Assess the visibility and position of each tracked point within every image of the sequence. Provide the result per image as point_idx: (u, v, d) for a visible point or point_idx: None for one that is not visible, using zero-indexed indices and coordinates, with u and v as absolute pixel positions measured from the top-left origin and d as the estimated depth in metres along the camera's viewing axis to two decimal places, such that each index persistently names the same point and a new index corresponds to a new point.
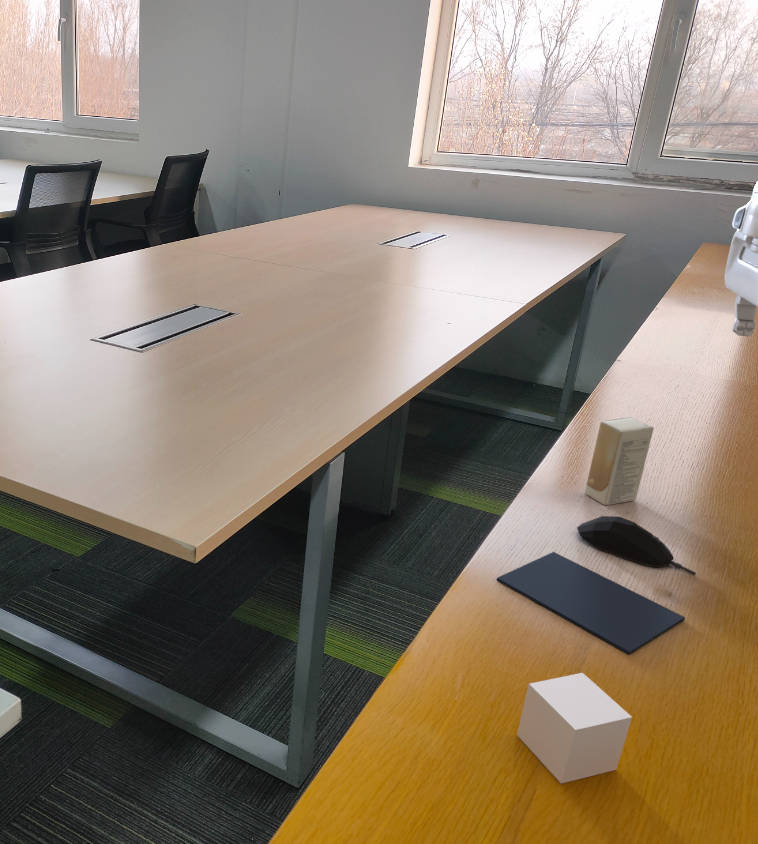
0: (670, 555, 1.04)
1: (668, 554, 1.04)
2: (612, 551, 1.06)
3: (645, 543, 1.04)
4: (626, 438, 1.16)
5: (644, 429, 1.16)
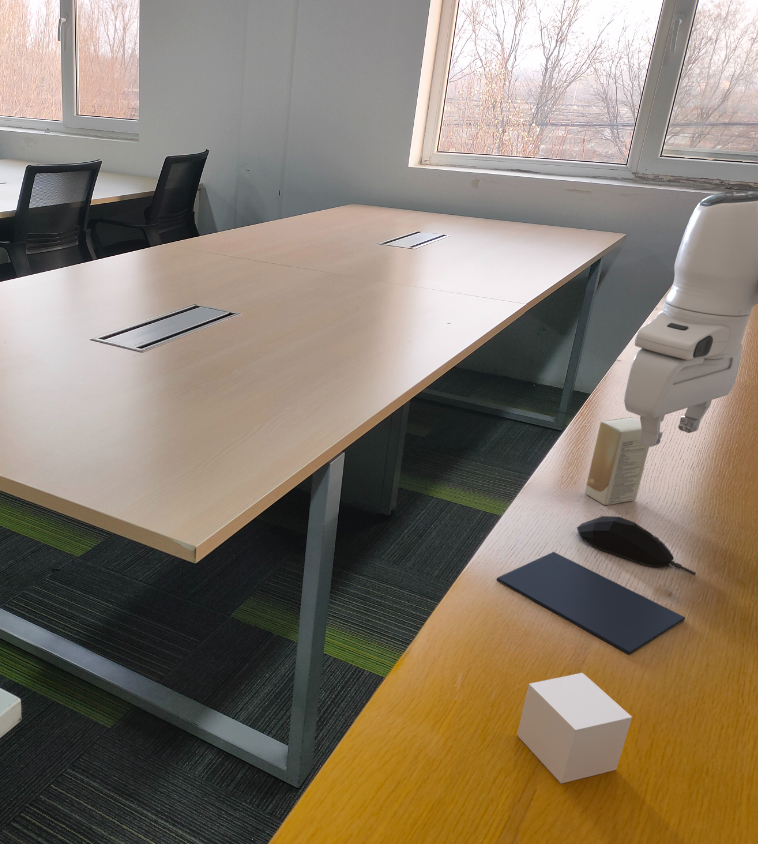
0: (670, 555, 1.04)
1: (668, 554, 1.04)
2: (612, 551, 1.06)
3: (645, 543, 1.04)
4: (626, 438, 1.16)
5: None
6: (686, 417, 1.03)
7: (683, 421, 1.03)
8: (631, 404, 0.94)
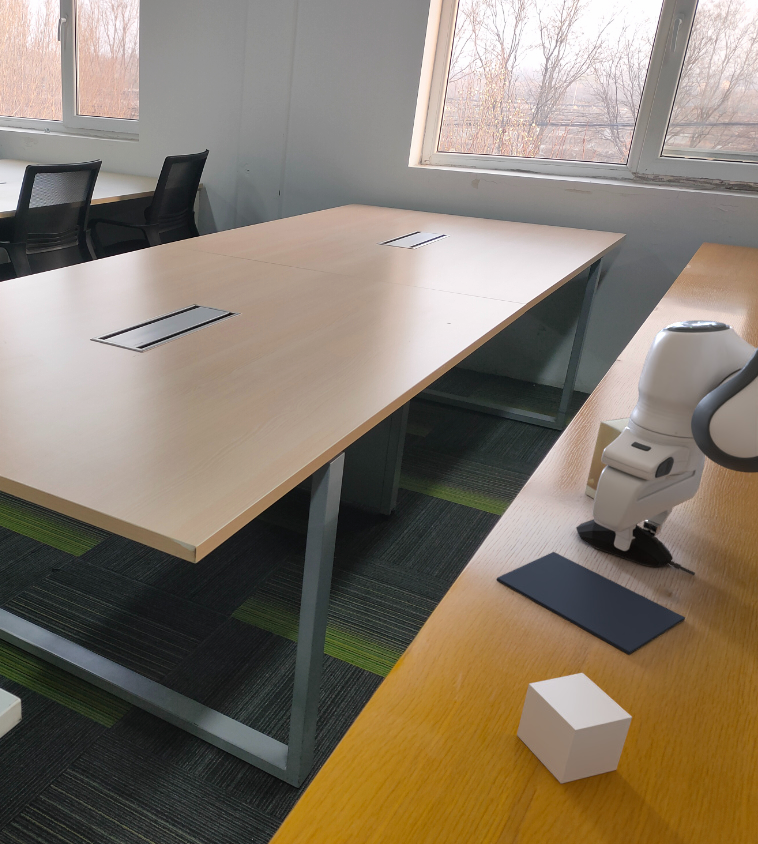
0: (669, 555, 1.04)
1: (667, 554, 1.04)
2: (611, 551, 1.06)
3: (644, 543, 1.04)
4: None
5: None
6: (649, 521, 1.08)
7: (646, 525, 1.08)
8: (599, 518, 1.00)
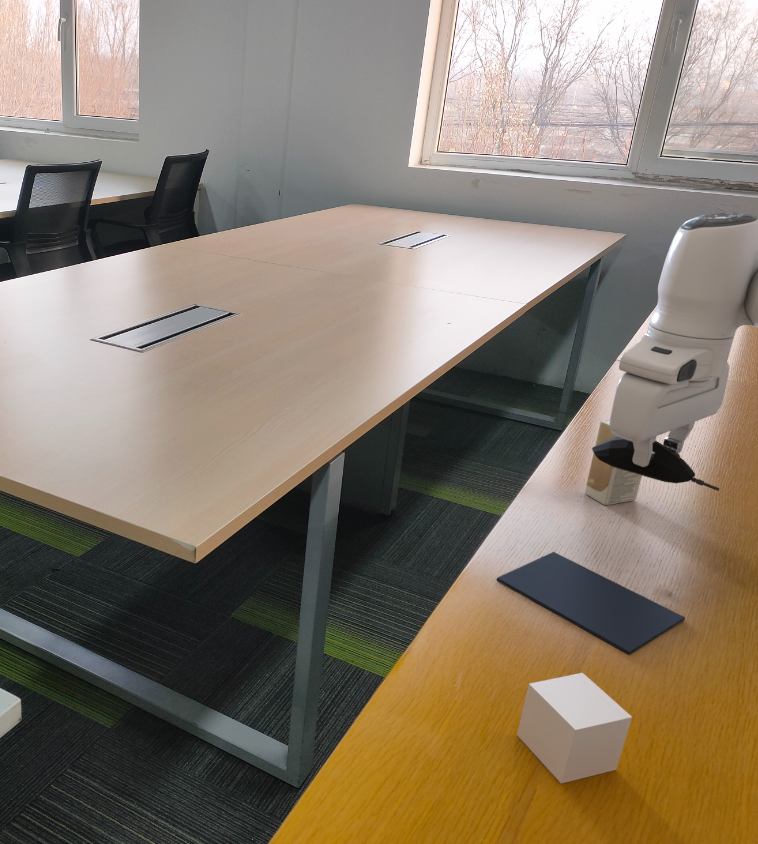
0: (691, 471, 0.98)
1: (689, 470, 0.98)
2: (629, 469, 1.00)
3: (665, 459, 0.98)
4: None
5: None
6: (669, 439, 1.02)
7: (667, 443, 1.02)
8: (616, 428, 0.94)
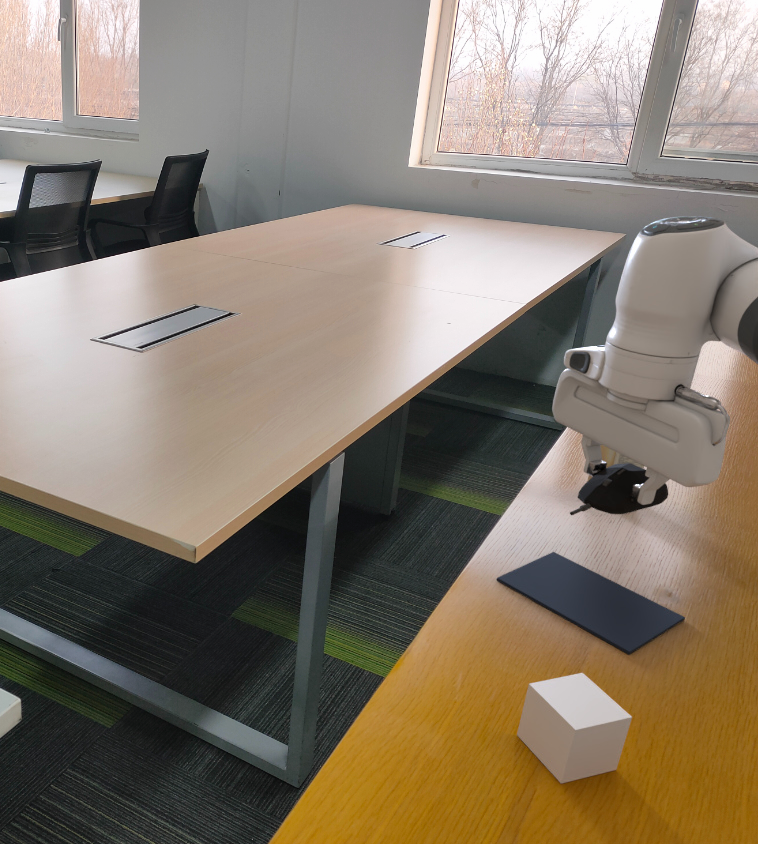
0: (595, 499, 0.89)
1: (594, 497, 0.89)
2: None
3: (598, 477, 0.91)
4: None
5: None
6: None
7: None
8: None
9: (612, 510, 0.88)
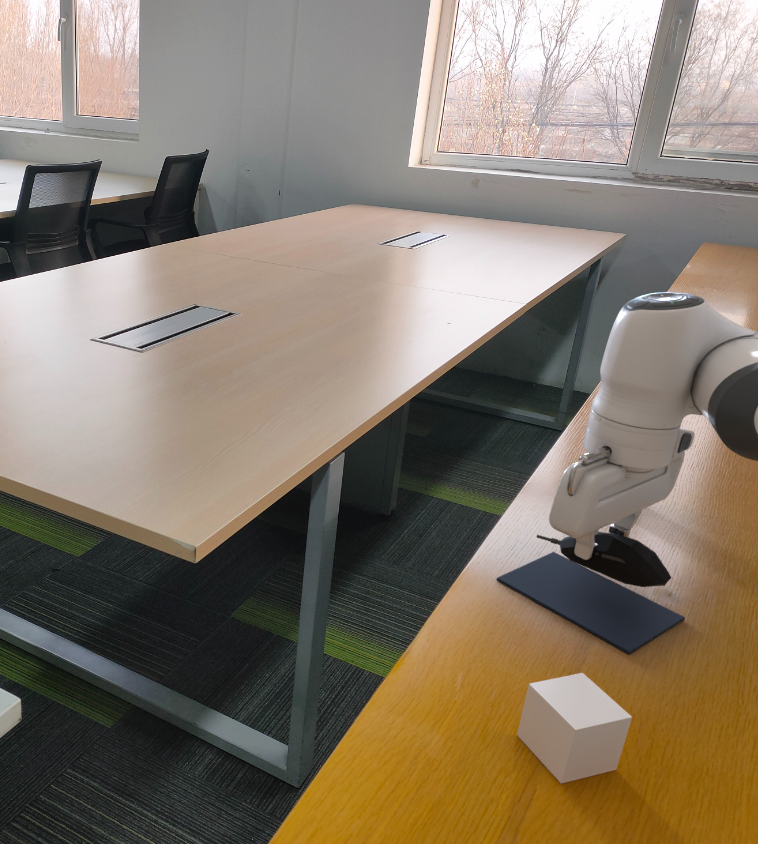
0: (564, 539, 0.96)
1: (567, 538, 0.96)
2: None
3: None
4: None
5: None
6: None
7: None
8: None
9: (562, 550, 0.95)
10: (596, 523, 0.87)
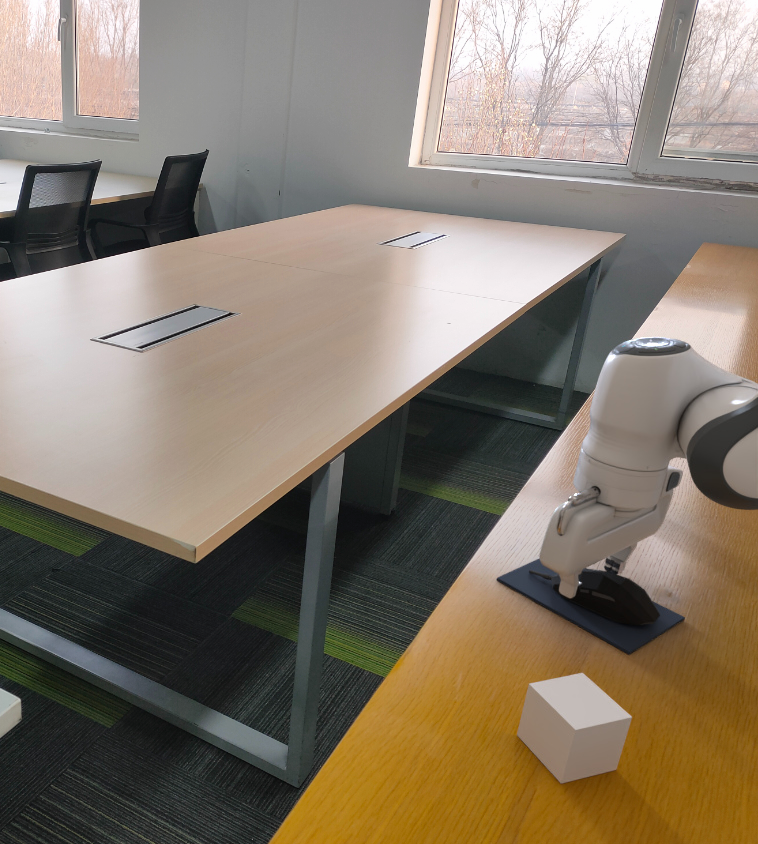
0: (556, 575, 0.98)
1: None
2: None
3: None
4: None
5: None
6: None
7: None
8: None
9: (554, 587, 0.97)
10: (585, 561, 0.89)
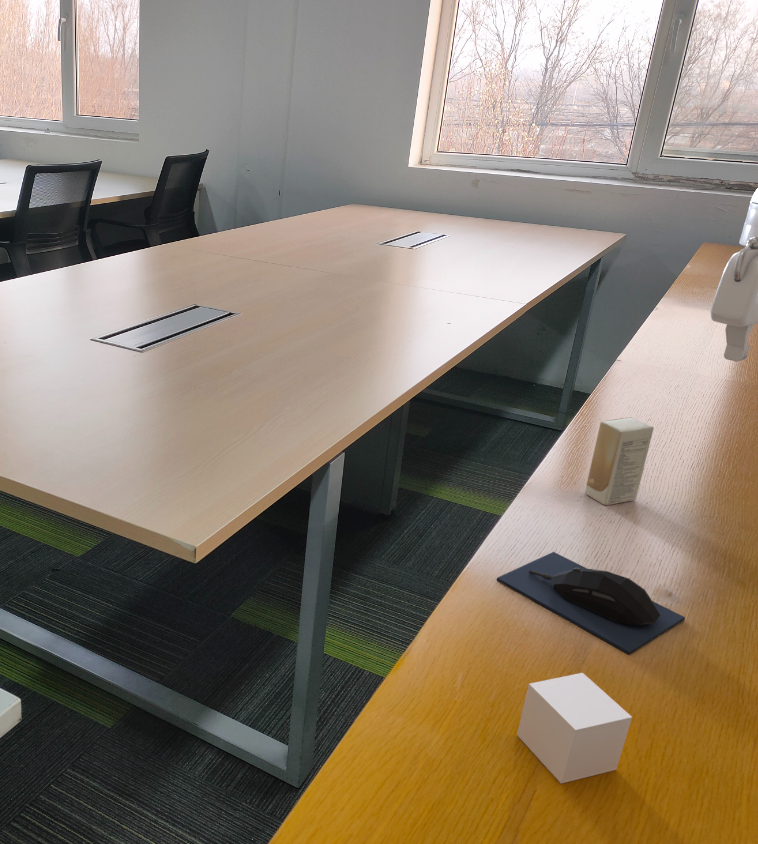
0: (556, 575, 0.98)
1: (559, 574, 0.98)
2: None
3: None
4: (626, 438, 1.16)
5: (644, 429, 1.16)
6: None
7: None
8: None
9: (554, 587, 0.97)
10: None
